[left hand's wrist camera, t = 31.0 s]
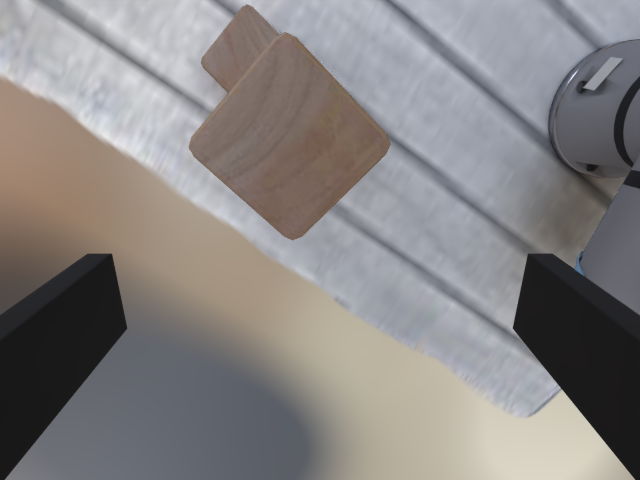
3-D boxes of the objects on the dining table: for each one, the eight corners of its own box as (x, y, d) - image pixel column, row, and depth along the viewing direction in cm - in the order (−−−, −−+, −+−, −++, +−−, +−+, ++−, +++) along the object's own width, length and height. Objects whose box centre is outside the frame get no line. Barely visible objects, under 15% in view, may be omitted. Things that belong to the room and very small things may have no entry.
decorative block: (256, 13, 43) (139, -131, 15) (351, 112, 47) (398, 146, 19) (213, 66, 45) (39, 26, 17) (308, 158, 49) (292, 249, 21)
